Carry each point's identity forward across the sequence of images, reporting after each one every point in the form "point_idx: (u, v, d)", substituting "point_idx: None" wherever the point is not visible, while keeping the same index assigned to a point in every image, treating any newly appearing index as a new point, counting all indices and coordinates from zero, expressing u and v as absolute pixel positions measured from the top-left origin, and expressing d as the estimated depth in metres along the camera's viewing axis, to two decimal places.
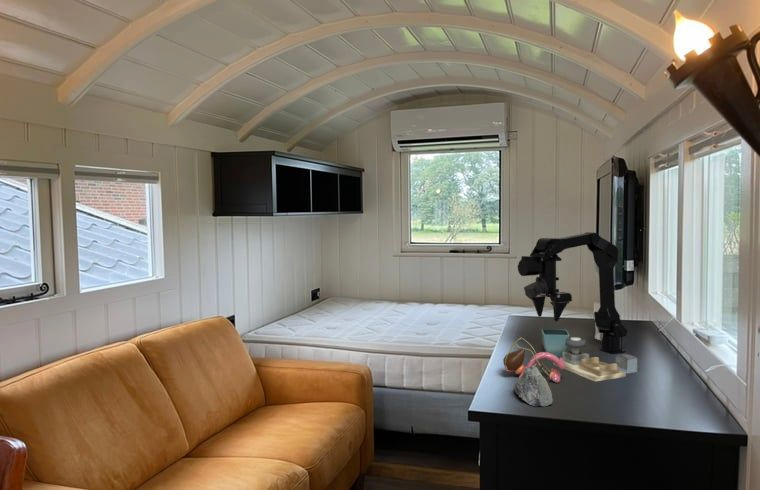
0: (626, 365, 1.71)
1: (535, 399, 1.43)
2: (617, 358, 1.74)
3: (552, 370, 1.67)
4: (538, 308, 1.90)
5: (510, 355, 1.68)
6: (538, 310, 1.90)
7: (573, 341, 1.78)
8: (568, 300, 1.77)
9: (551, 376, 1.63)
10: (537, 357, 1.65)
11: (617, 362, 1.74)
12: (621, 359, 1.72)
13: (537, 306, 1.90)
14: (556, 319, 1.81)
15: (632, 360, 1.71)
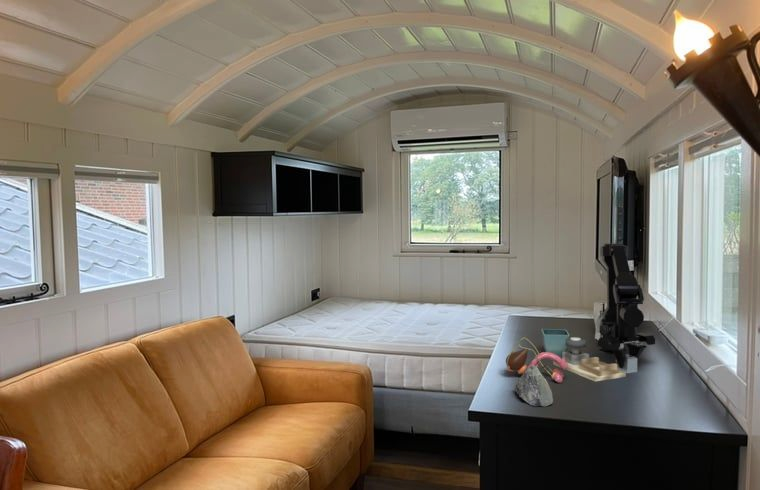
0: (626, 365, 1.71)
1: (535, 399, 1.43)
2: None
3: (555, 370, 1.67)
4: None
5: (512, 355, 1.68)
6: None
7: (573, 341, 1.78)
8: (606, 347, 1.69)
9: (553, 376, 1.63)
10: (539, 357, 1.65)
11: (617, 362, 1.74)
12: None
13: (630, 354, 1.75)
14: (619, 365, 1.73)
15: (632, 360, 1.71)
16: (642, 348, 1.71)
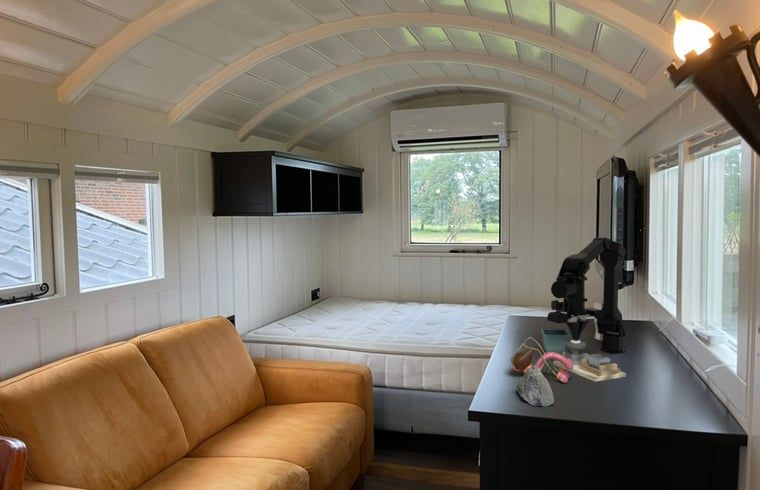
0: (598, 365, 1.67)
1: (536, 399, 1.43)
2: (590, 358, 1.70)
3: (560, 370, 1.66)
4: None
5: (518, 354, 1.68)
6: None
7: (573, 344, 1.78)
8: (554, 321, 1.75)
9: (558, 376, 1.62)
10: (545, 357, 1.65)
11: (590, 362, 1.70)
12: (594, 359, 1.69)
13: None
14: (573, 338, 1.80)
15: (605, 360, 1.67)
16: (585, 322, 1.77)
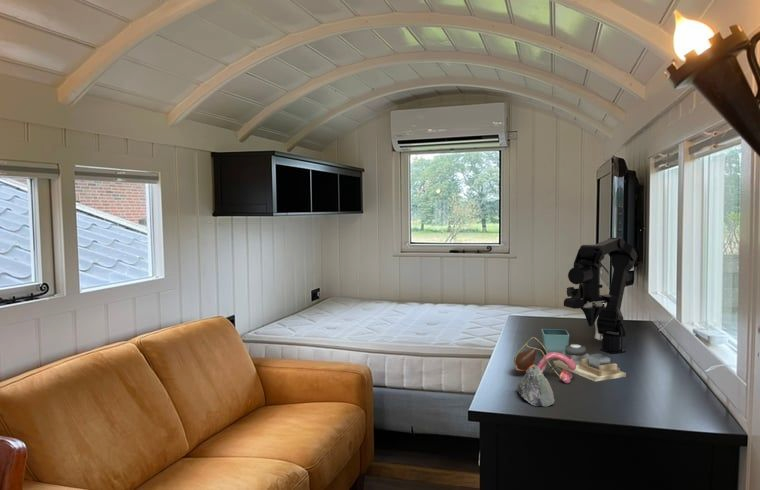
0: (598, 365, 1.67)
1: (536, 399, 1.43)
2: (590, 358, 1.70)
3: (563, 370, 1.66)
4: None
5: (520, 354, 1.68)
6: None
7: (573, 348, 1.78)
8: (571, 306, 1.80)
9: (561, 376, 1.62)
10: (547, 357, 1.65)
11: (590, 362, 1.70)
12: (594, 359, 1.69)
13: None
14: (589, 324, 1.85)
15: (605, 360, 1.67)
16: (600, 308, 1.83)
